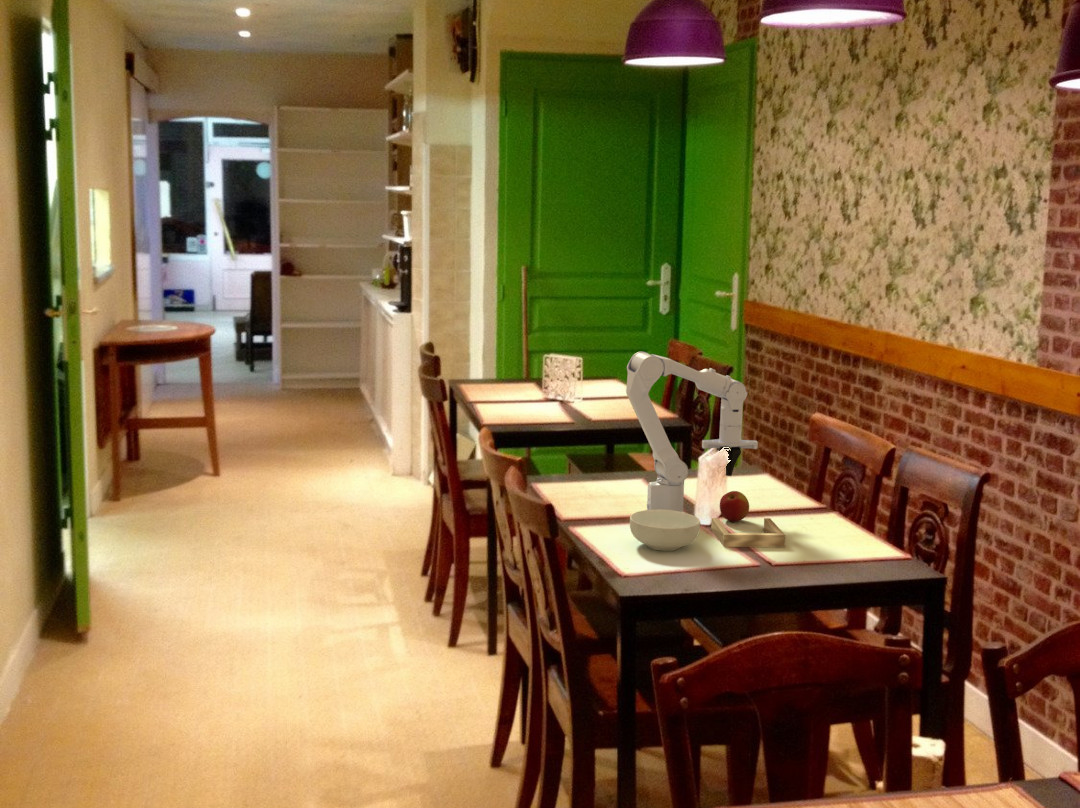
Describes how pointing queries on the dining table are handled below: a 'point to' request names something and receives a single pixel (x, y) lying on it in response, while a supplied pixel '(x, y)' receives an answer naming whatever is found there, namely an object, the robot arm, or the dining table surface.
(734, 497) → the apple
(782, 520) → the dining table surface
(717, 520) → the shallow wooden tray
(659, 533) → the cereal bowl
